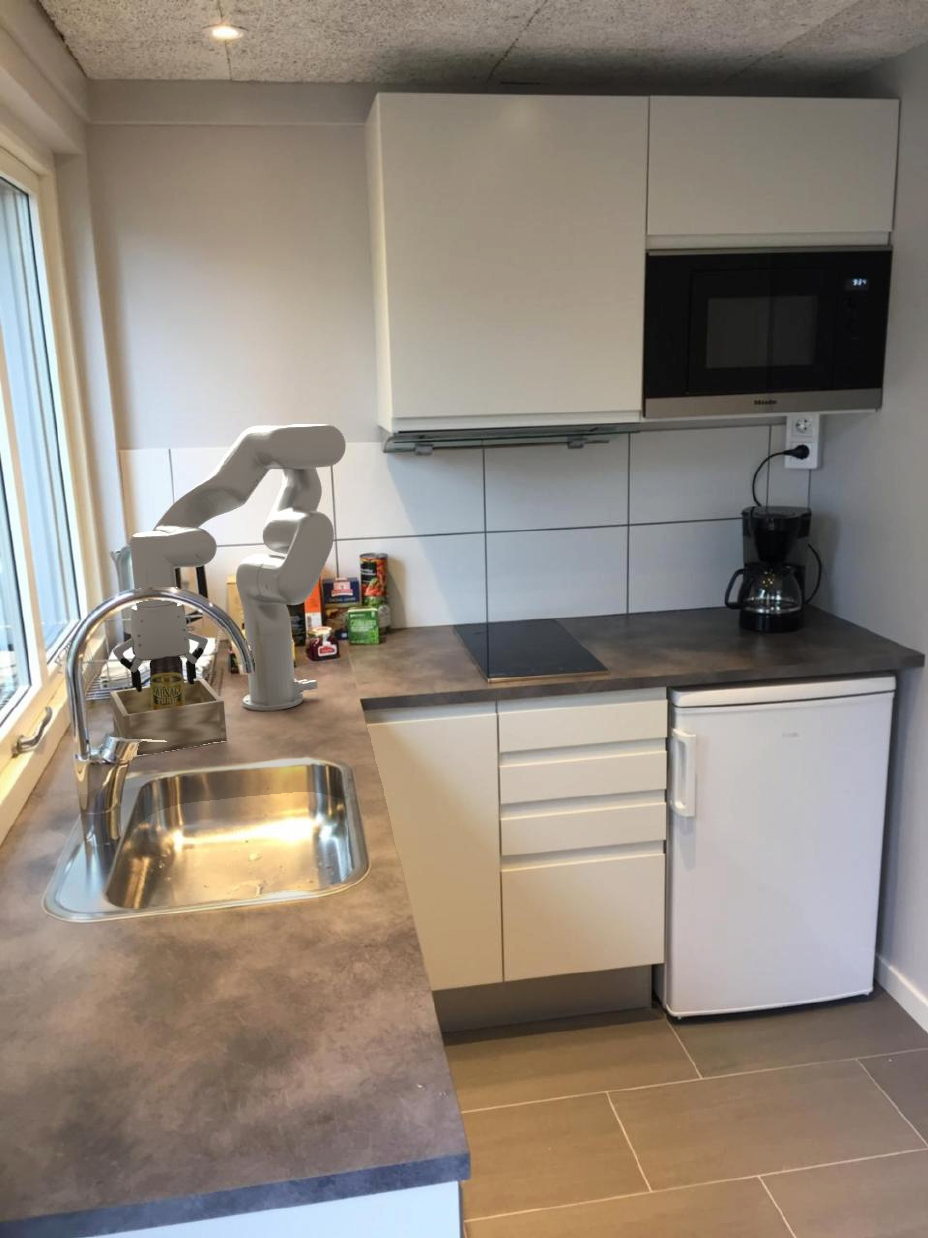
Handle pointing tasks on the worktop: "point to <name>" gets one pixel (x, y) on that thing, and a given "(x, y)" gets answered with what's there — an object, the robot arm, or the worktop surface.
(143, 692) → the crate
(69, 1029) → the worktop surface
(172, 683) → the sauce bottle
